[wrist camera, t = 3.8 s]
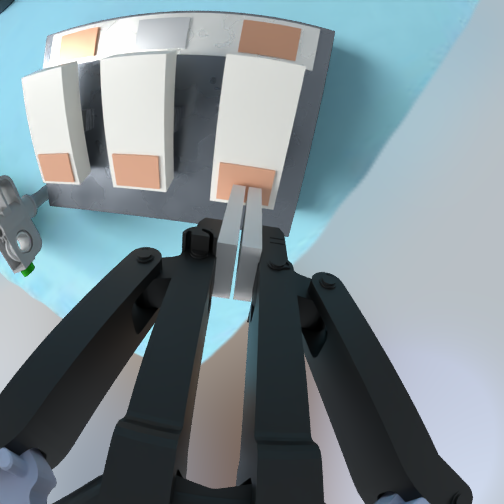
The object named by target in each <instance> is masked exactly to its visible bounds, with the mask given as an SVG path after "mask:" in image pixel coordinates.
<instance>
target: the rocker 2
mask: <svg viewBox="0 0 504 504" xmlns="http://www.w3.org/2000/svg"><path fill="white" fill-rule="evenodd" d="M176 58H177V50H172V51H145V52H132V53H122V54H115V55H112V56H109V57H106V58H103V59H100V74H101V95H102V108H103V119H104V129H105V137H106V145H107V152H108V159H109V165H110V171H111V177H112V182H113V187H117V188H129V189H140V190H150V191H159V192H167V190H168V188H169V186H170V184H171V182H172V180H173V178H174V158H173V129H174V92H175V73H176Z"/></svg>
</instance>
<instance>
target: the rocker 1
mask: <svg viewBox="0 0 504 504" xmlns="http://www.w3.org/2000/svg"><path fill="white" fill-rule="evenodd" d="M22 87H23V95H24V102H25V108H26V114H27V119H28V124H29V129H30V134H31V138H32V143H33V147H34V151H35V155H36V158H37V162H38V166H39V169H40V172H41V176H42V179H43V182H44V183H56V184H75V185H80V184H81V183H82V182H83V181H84V179H85V178H86V177H87V176H88V175H89V174H90V172H91V168H90V163H89V157H88V152H87V146H86V140H85V134H84V127H83V120H82V111H81V102H80V92H79V78H78V60H77V61H72V62H68V63H64V64H59V65H55V66H52V67H48V68H44V69H41V70H38V71H35V72H33V73H31V74H29V75H27V76H25V77H23V78H22Z"/></svg>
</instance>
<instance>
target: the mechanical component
mask: <svg viewBox="0 0 504 504" xmlns="http://www.w3.org/2000/svg"><path fill="white" fill-rule="evenodd" d="M48 199H49V198H48V192H47V185H45V186H44V187H42V188H41V189H40V190H39V191H37V192H36V193H34V194H33V195H31V196H30V195H27V194H26V195H24V196H22V198H20V196H19V194H18V191H17V189H16V187H15V185H14V183H13V181H12V179H11V178H10V177H9V176H6V175H3V176H0V251H1V253H2V255H3V256H4V258H5V260H6V261H7V263H8V264H9V266H10V267H11V269H12V271H13V272H14V274H15V273H17V272H20V271H21V273H22V274H23V276H24V277H26V276H28V275H29V274H30V273H31V272H32V271H33V270H34V268H35V266H34V265H33V263H32V261H33V260H34V259H35V256H36V255H37V254H38V252H39V251H40V250H41V247H42V240H41V237H40V234H39V233H38V231H37V229H36V227H35V225H34V224H33V222H32V220H31V218H33V217H35V215H36V214H37V208H38V207H39V206H40V205H41V204H43V203H44V202H45V201H46V200H48ZM17 240H18V241H19V243H20V246H21V249H20V248H19V247H18V244H17Z"/></svg>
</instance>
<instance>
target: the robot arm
mask: <svg viewBox="0 0 504 504" xmlns="http://www.w3.org/2000/svg"><path fill="white" fill-rule="evenodd" d="M12 1H13V0H0V13H1V12H2V11H3V10H4V9H6V8H7V7H8V6H9V5H10V3H11V2H12ZM245 189H246V186H241V185H235V184H233V186H232V190H231V193H230V197H229V201H228V204H227V208H226V211H225V215H224V219H223V220H219V219H212V218H204V219H202V220H201V221H199V223H198V225H197V227H191V228H188V229H186V230H185V231H184V232H183V237H182V253H181V255H179V256H175V257H165V258H162V256H161V253H160V252H159V251H158V250H156V249H154V248H150V247H143V248H138V249H135V250H134V251H132V252H131V253H130V254H129V255H128V256H126V257H125V258H124V259H123V260H122V261H121V262H120V263H119V264H118V265H117V266H116V267H115V268H113V269H112V270H111V271H110V272H109V273H108V274H107V275H106V276H105V277H104V278H103V279H102V280H101V281H100V282H99V283H98V284H97V285H96V286H95V287H94V288H93V289H92V290H91V291H90V292H89V293H88V294H87V295H86V296H85V297H84V298H83V299H82V300H81V301H80V302H79V303H78V304H77V305H76V306H75V307H74V308H73V309H72V310H71V311H70V312H69V313H68V314H67V315H66V316H65V317H64V318H63V319H62V321H61V322H60V323H59V324H58V325H57V326H56V327H55V328H54V329H53V330H52V331H51V333H50V334H49V335H48V336H47V337H46V338H45V339H44V341H43V342H42V343H41V344H40V345H39V346H38V347H37V349H36V350H35V351H34V352H33V353H32V354H31V356H30V357H29V358H28V359H27V360H26V362H25V363H24V364H23V365H22V366H21V368H20V369H19V370H18V371H17V373H16V374H15V375H14V377H13V378H12V379H11V380H10V382H9V383H8V384H7V386H6V387H5V388H4V390H3V391H2V392H1V394H0V504H47V496H48V494H49V493H50V492H51V490H52V489H53V488H54V487H55V486H56V483H57V482H56V478H55V476H54V474H53V471H52V469H53V468H55V467H56V466H57V465H58V464H59V463H60V462H61V461H62V460H63V459H64V458H65V457H66V455H67V454H68V453H69V451H70V450H71V448H72V447H73V445H74V444H75V442H76V440H77V439H78V437H79V436H80V434H81V432H82V431H83V429H84V427H85V426H86V424H87V423H88V421H89V420H90V418H91V416H92V415H93V413H94V412H95V410H96V409H97V407H98V405H99V404H100V402H101V401H102V399H103V398H104V396H105V395H106V393H107V392H108V390H109V389H110V387H111V386H112V384H113V383H114V381H115V379H116V378H117V377H118V375H119V374H120V372H121V371H122V369H123V368H124V366H125V365H126V363H127V362H128V360H129V359H130V357H131V356H132V355H133V353H134V352H135V350H136V349H137V347H138V346H139V344H140V343H141V342H142V340H143V339H144V337H145V336H146V334H147V333H148V332H149V330H150V329H151V327H152V326H153V325H154V327H153V330H152V333H151V336H150V339H149V342H148V345H147V348H146V351H145V354H144V357H143V360H142V363H141V366H140V370H139V373H138V376H137V379H136V383H135V386H134V389H133V393H132V396H131V400H130V404H129V407H128V410H127V413H126V415H125V417H124V418H122V419H121V420H119V421H118V423H117V424H116V427H115V429H114V432H113V436H112V439H111V443H110V447H109V451H108V456H107V460H106V464H105V469H104V473H103V475H101V476H98V477H97V478H95V479H93V480H92V481H90V482H88V483H87V484H85V485H84V486H82V487H81V488H79V489H77V490H75V491H74V492H72V493H71V494H69V495H67V496H65V497H64V498H62V499H60V500H58V501H56V502H55V503H53V504H326V503H324V492H323V474H322V473H323V472H322V458H321V452H320V449H319V446H318V445H317V444H316V443H315V442H314V441H313V440H312V438H311V430H310V417H309V404H308V393H307V381H306V370H305V361H304V354H305V357H306V359H307V362H308V364H309V367H310V370H311V372H312V375H313V377H314V380H315V382H316V385H317V387H318V390H319V393H320V395H321V398H322V401H323V403H324V406H325V408H326V411H327V413H328V416H329V419H330V422H331V424H332V427H333V429H334V432H335V435H336V437H337V440H338V443H339V445H340V448H341V451H342V453H343V456H344V458H345V461H346V464H347V467H348V469H349V472H350V475H351V477H352V480H353V482H354V485H355V487H356V489H357V491H358V493H359V495H360V496H361V498H362V500H363V501H364V503H365V504H472V500H473V496H472V491H471V489H470V487H469V486H468V485H467V484H466V483H465V482H464V481H463V480H462V479H461V478H460V476H459V475H458V474H457V473H456V472H455V471H454V470H453V469H452V468H451V467H450V466H449V465H448V464H447V463H446V462H445V461H444V460H443V459H442V458H441V457H440V456H439V455H438V453H437V451H436V448H435V446H434V444H433V442H432V440H431V438H430V436H429V433H428V431H427V429H426V427H425V425H424V424H423V421H422V419H421V417H420V415H419V413H418V412H417V409H416V407H415V406H414V404H413V402H412V400H411V398H410V396H409V394H408V392H407V390H406V389H405V387H404V385H403V383H402V381H401V379H400V378H399V376H398V374H397V372H396V370H395V369H394V367H393V365H392V363H391V362H390V360H389V358H388V356H387V355H386V353H385V351H384V349H383V348H382V346H381V345H380V343H379V341H378V339H377V338H376V336H375V334H374V332H373V331H372V329H371V327H370V326H369V324H368V323H367V321H366V319H365V318H364V316H363V315H362V313H361V311H360V310H359V308H358V307H357V305H356V303H355V302H354V300H353V299H352V297H351V295H350V294H349V292H348V291H347V289H346V288H345V286H344V284H343V283H342V282H341V281H340V279H339V278H337V277H336V276H334V275H332V274H330V273H325V272H319V273H316V274H314V275H313V276H312V279H310V278H307V277H305V276H302V275H300V274H298V273H296V272H295V271H294V268H293V265H292V263H290V262H289V261H288V258H287V251H286V245H285V237H284V233H283V232H282V231H281V230H280V228H276V227H270V226H264V225H262V189H261V188H254V187H249V188H248V194H247V201H246V207H245V213H244V219H243V225H242V233H241V241H240V249H239V257H238V265H237V273H236V281H235V290H234V298H233V299H235V300H242V301H249V302H251V299H252V303H251V307H250V312H249V316H248V321H247V322H249V331H248V347H247V362H246V377H245V391H244V405H243V422H242V435H241V450H240V461H239V466H238V471H237V480H236V486H235V487H228V488H221V489H211V488H208V487H205V486H202V485H200V484H197V483H194V482H192V481H189V480H187V479H186V472H187V457H188V447H189V439H190V432H191V425H192V417H193V410H194V404H195V397H196V390H197V384H198V378H199V371H200V365H201V359H202V353H203V347H204V342H205V336H206V330H207V324H208V319H209V313H210V308H211V299H212V296H214V297H221V298H228V299H229V298H230V291H231V285H232V278H233V271H234V265H235V258H236V251H237V245H238V238H239V231H240V224H241V217H242V210H243V203H244V196H245ZM154 323H155V324H154Z"/></svg>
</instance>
